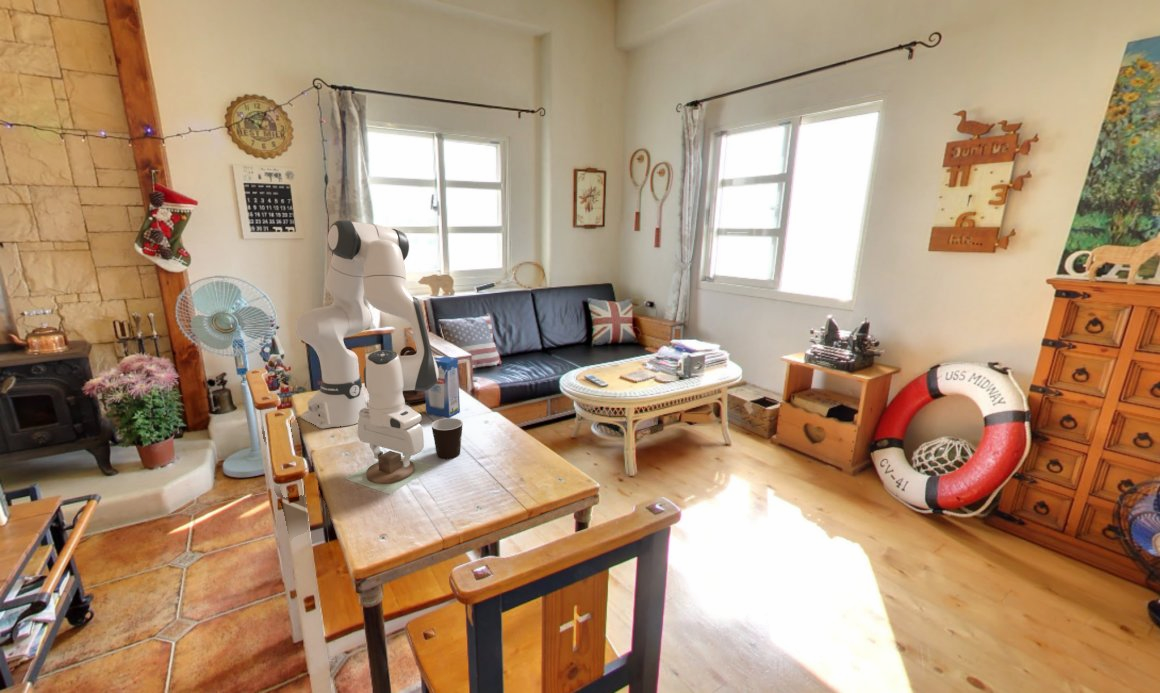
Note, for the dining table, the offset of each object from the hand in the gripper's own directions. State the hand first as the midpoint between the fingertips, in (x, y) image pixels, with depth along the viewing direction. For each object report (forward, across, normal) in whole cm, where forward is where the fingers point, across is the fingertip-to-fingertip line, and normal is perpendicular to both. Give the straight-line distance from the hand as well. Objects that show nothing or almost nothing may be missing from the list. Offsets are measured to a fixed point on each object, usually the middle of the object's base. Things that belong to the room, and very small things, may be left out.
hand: (391, 462), depth 129 cm
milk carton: (+4, -17, +40) cm, 43 cm away
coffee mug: (+4, +6, +17) cm, 18 cm away
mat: (+4, 0, 0) cm, 4 cm away
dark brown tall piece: (+4, -36, +45) cm, 58 cm away
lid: (+3, 0, 0) cm, 3 cm away
